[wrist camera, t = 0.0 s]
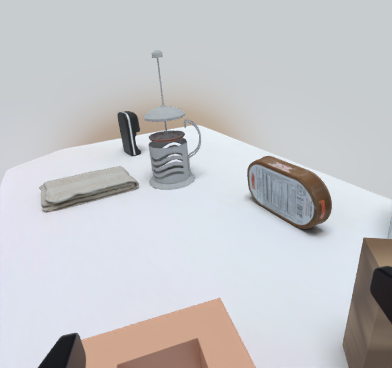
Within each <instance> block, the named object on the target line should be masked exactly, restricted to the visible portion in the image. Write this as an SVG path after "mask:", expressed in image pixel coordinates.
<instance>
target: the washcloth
mask: <svg viewBox="0 0 392 368" xmlns="http://www.w3.org/2000/svg"><path fill="white" fill-rule="evenodd" d="M138 186H139V183H138V182H137V181H136V180H135V179H134V178H133V177H131V176H129V173H128V172H127V171H126V170H125V169H124V168H123V167H120V166H119V167H112V168H108V169H104V170H97V171H91V172H88V173H84V174H79V175H75V176H71V177H66V178H61V179H57V180H52V181H48V182H45V183H44V185H42V186H40V188H39V189H40V190H41V206H42V207H43V210H44V212H45V211H46V212H48V211H57V210H61V209H66V208H70V207H74V206H77V205H81V204H85V203H89V202H92V201H96V200H100V199H103V198H107V197H111V196H114V195H118V194H122V193H126V192H129V191H133V190H135V189H137V188H138Z"/></svg>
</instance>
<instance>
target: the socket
mask: <svg viewBox="0 0 392 368" xmlns="http://www.w3.org/2000/svg"><path fill="white" fill-rule="evenodd" d="M81 342H82V344H83V347H84V350H85V353H86V368H256V367H255V365H254V364H253V362H252V360H251V358H250V356H249V354H248V352H247V350H246V348H245V346H244V344H243V342H242V340H241V338H240V336H239V334H238V332H237V330H236V328H235V326H234V324H233V322H232V320H231V318H230V316H229V314H228V312H227V311H226V309H225V307H224V305H223V303H222V301H221V299H220V298H218V299H214V300H211V301H208V302H205V303H201V304H198V305H195V306H191V307H188V308H185V309H182V310H178V311H175V312H172V313H169V314H165V315H162V316H159V317H155V318H152V319H149V320H146V321H142V322H139V323H136V324H132V325H129V326H126V327H123V328H119V329H116V330H113V331H109V332H106V333H103V334H100V335H96V336H93V337H90V338H87V339H83V340H81Z"/></svg>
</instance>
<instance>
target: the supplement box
mask: <svg viewBox="0 0 392 368" xmlns="http://www.w3.org/2000/svg"><path fill="white" fill-rule="evenodd" d="M387 239H392V219H391V223H390V228H389V233H388V238H387Z"/></svg>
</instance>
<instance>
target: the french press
mask: <svg viewBox="0 0 392 368" xmlns="http://www.w3.org/2000/svg"><path fill="white" fill-rule="evenodd" d="M158 57H162V52H161V51H158V50H156V51H154V52H153V53H152V58H157V62H158V71H159V78H160V70H159V61H158ZM160 87H161V96H162V104H163V105H162V106H160V107H157V108H155V109H153V110H151V111H149V112H148V113H147V114H145V115H144V119H145V120H146V121H152V122H159V121H165V129H166V131H164V132H163V131H162V132H159V133H154V134H153V135H150V136H149V139H150V140H151V141H152V142H150V143H149V150H150V157H151V164H152V171H153V177H152V179H151V180H150V181H149V183H150V185H151V186H152V187H154V188H157V189H161V190H171V189H178V188H182V187H185V186H188V185H189V184H191V183H192V182H194V180H195V177H194V175H193V174H192V173H191V172H190V163H189V158H190V157H192V156H193V155H195V154H196V153H197V152H198V150H199V148H200V145H201V135H200V131H199V129H198V127H197V125H196V124H195V123H194V122H192V121H190V120H188V119H186V120H185V121H184V126H185V128H186V122H188V123H190V124H192V125H193V126H194V127H195V128H196V129H197V131H198V133H199V144H198V147H197V148H196V149H195V150H194V151H193V152H191V153H190V154H189V155H191V154H192V153H194V152H195V151H196V150H197V149H198V150H197V151H196V152H195V153H194V154H192V155H191V156H189V155H188V151H187V141H186V139H184V138H183V136H184V135H185V134H184V132H182V131H174V130H173V131H171V130H170V131H167V128H166V121H170V120H175V119H179V118H182V117H183V116H184V115H185V112H184V111H182V110H181V109H179V108H175V107H172V106H165V105H164V103H163V95H162V86H161V78H160ZM189 121H190V122H189ZM191 122H192V123H191ZM172 142H177V143H180V144H181V145H180V146H177V145H172V146H169V147H167V148H163V147H164V146H166V145H167V144H169V143H172ZM172 154H179V155H181V156H171V157H168V156H169V155H172ZM166 157H168V158H166ZM157 158H159V159H157ZM174 159H178V160H181V161H183V162H172V163H169V164H167V165H165V164H166V163H168V162H169V161H171V160H174ZM161 160H162V161H161ZM163 165H165V166H163ZM161 166H163V167H161ZM159 167H161V168H159Z"/></svg>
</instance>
